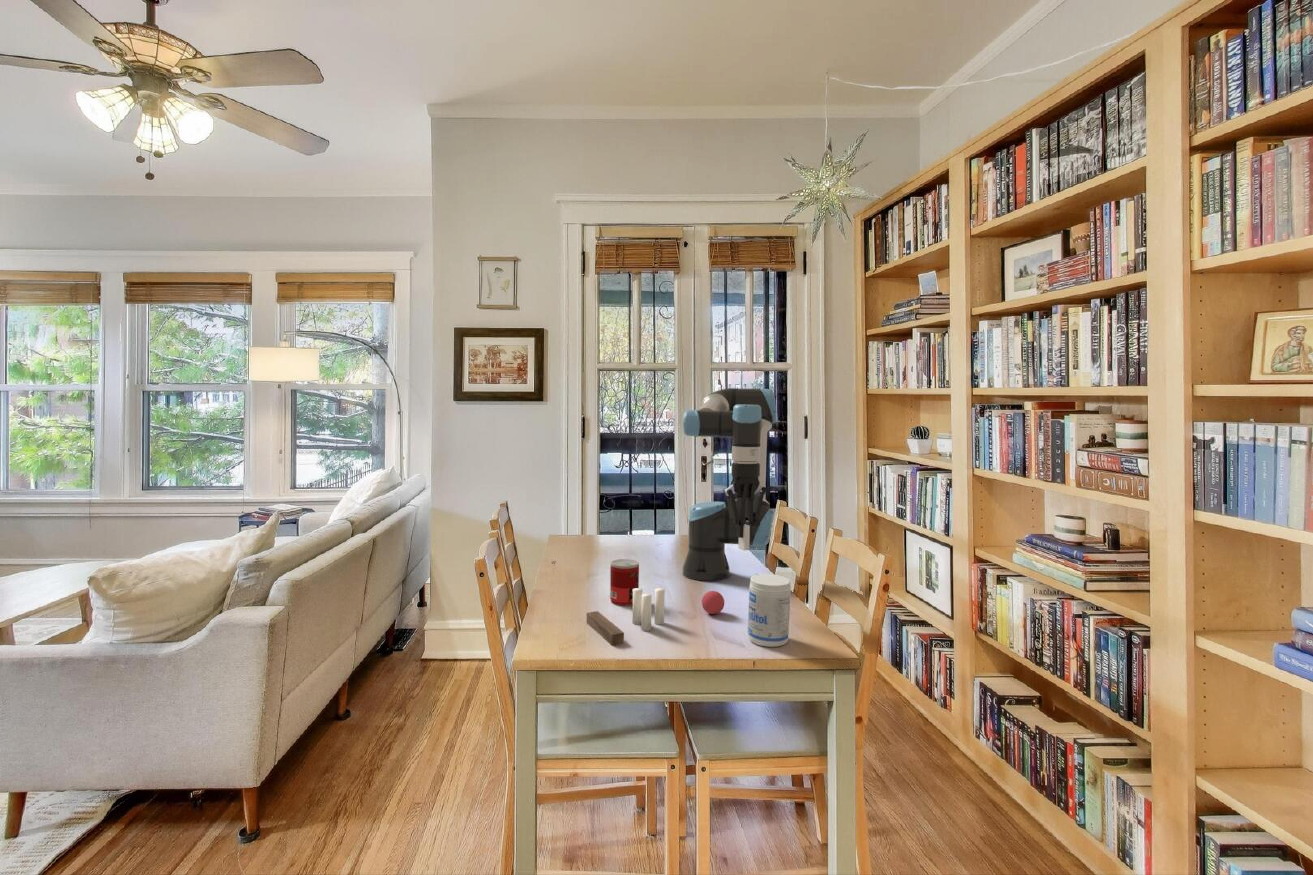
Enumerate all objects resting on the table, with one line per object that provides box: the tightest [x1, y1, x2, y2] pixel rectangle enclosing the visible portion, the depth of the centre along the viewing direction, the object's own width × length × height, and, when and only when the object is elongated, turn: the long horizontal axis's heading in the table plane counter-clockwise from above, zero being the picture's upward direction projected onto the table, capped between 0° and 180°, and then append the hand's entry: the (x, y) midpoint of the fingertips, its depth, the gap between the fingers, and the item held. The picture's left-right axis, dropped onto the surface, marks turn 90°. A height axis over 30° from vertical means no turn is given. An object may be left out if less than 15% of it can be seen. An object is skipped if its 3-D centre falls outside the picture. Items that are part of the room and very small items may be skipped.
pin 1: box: [631, 587, 643, 625], centre depth 157 cm, size 2×2×8 cm
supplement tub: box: [747, 573, 792, 648], centre depth 146 cm, size 10×10×15 cm
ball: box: [701, 590, 725, 615], centre depth 164 cm, size 6×6×6 cm
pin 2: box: [640, 593, 652, 632], centre depth 152 cm, size 2×2×8 cm
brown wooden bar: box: [586, 610, 625, 646], centre depth 150 cm, size 3×16×2 cm, turn 27°
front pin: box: [654, 587, 666, 626], centre depth 157 cm, size 2×2×8 cm
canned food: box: [609, 558, 640, 606], centre depth 173 cm, size 8×8×11 cm
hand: (743, 548), depth 168 cm, fingers closed
